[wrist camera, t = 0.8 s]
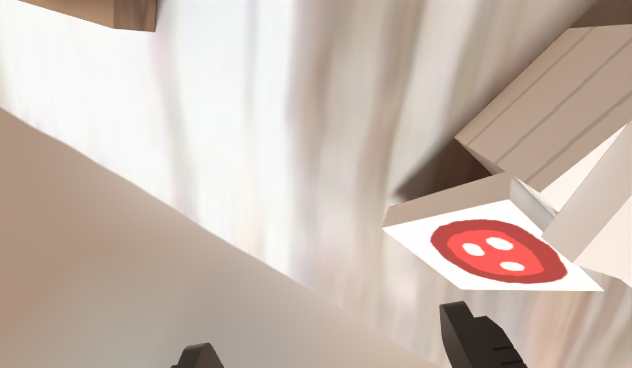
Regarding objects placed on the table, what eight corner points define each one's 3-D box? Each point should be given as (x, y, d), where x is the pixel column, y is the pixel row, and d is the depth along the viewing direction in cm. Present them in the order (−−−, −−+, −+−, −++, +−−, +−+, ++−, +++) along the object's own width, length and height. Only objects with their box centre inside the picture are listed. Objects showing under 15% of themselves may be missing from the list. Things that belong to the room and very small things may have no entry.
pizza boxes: (364, 203, 39) (402, 318, 23) (576, -5, 30) (901, -66, 13) (459, 277, 44) (546, 414, 28) (665, 120, 35) (977, 186, 19)
